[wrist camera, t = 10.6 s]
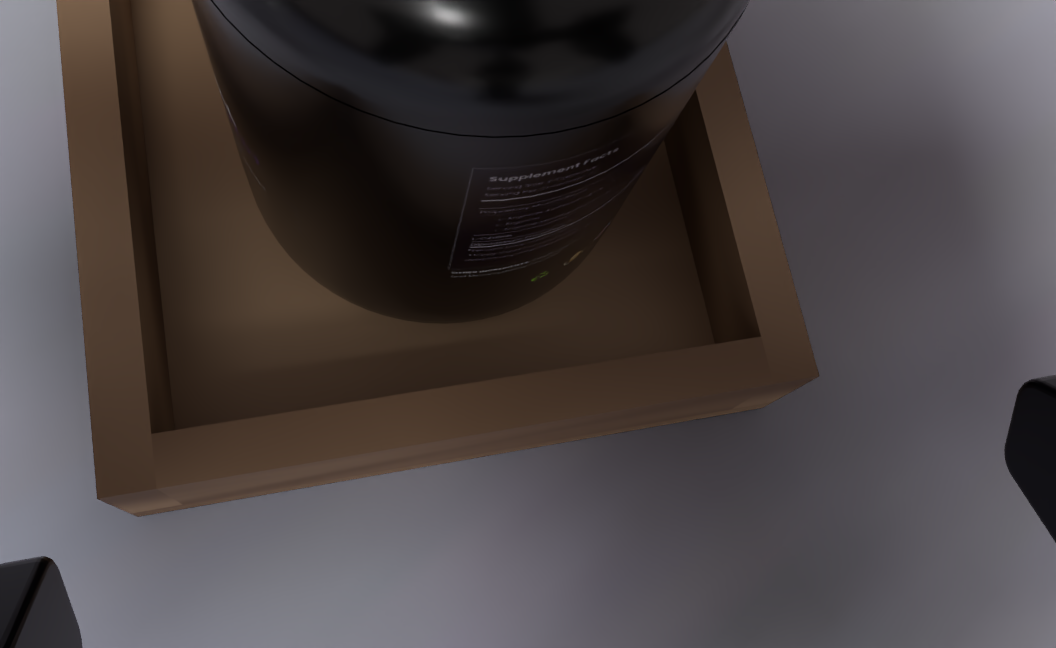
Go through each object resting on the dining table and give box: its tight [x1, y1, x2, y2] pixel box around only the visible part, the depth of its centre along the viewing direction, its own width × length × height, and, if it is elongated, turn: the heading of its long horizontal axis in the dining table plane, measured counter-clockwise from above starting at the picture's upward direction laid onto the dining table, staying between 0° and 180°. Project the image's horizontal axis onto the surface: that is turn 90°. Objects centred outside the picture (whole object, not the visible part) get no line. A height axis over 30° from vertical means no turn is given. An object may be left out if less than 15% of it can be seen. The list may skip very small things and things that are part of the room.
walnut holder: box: [56, 0, 819, 517], centre depth 18 cm, size 11×11×2 cm
